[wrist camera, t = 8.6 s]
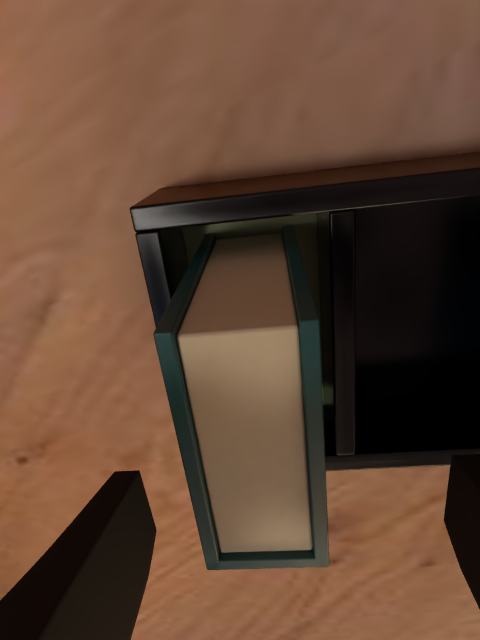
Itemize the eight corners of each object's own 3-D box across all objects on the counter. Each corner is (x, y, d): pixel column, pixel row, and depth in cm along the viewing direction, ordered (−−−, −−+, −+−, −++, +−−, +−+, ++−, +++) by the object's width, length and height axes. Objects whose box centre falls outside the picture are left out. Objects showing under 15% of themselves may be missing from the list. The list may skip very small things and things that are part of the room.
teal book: (303, 388, 19) (329, 567, 11) (229, 393, 19) (206, 570, 12) (292, 224, 16) (319, 319, 8) (205, 234, 16) (152, 333, 9)
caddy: (605, 392, 19) (685, 454, 16) (202, 417, 21) (189, 478, 17) (685, 127, 14) (825, 128, 11) (158, 188, 16) (127, 207, 13)
